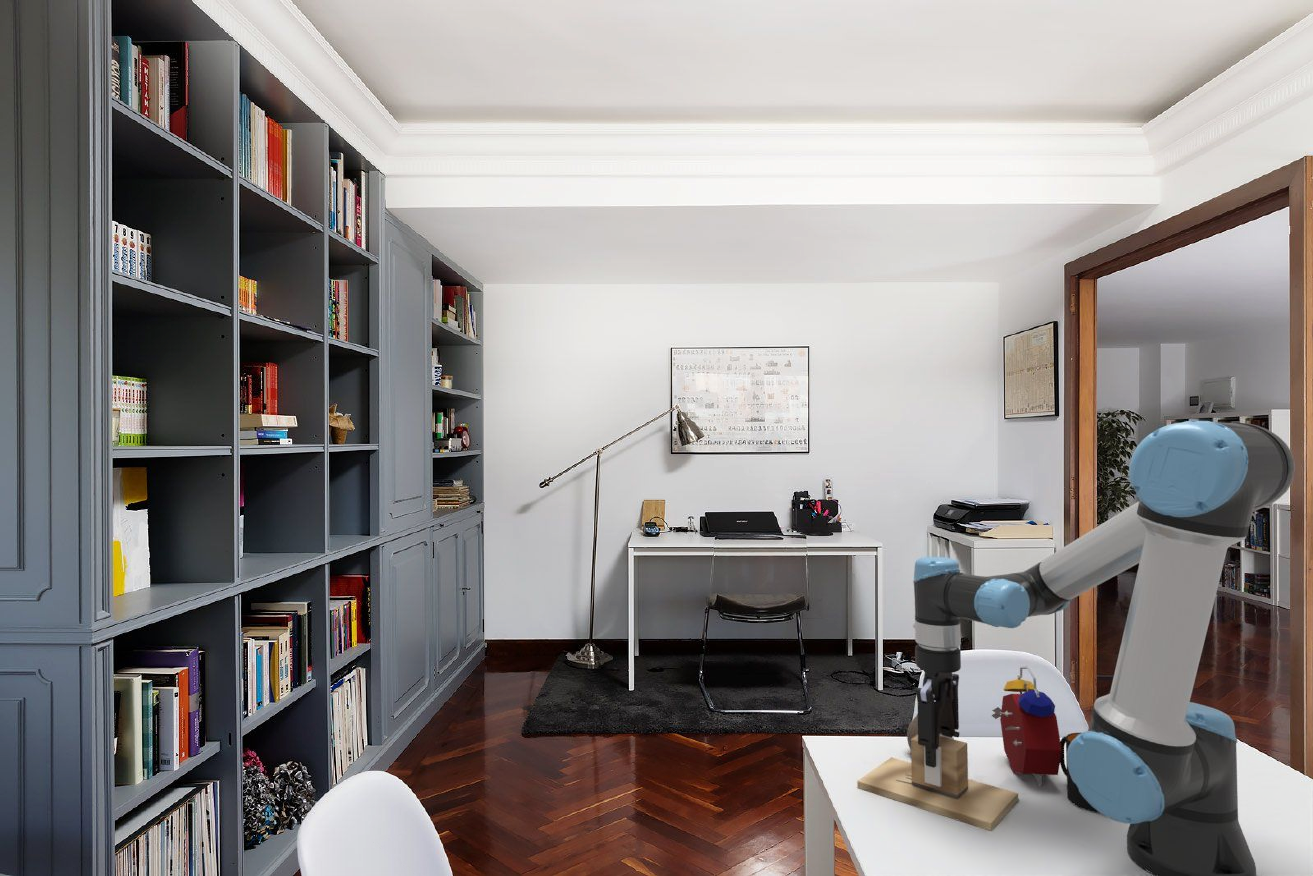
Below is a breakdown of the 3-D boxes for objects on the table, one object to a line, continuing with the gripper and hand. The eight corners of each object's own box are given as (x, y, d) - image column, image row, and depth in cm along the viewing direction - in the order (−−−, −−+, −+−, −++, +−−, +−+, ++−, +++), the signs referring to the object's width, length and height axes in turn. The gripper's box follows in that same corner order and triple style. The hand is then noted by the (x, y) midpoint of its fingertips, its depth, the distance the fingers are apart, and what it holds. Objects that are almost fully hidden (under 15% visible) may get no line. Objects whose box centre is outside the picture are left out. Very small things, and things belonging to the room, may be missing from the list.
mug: (1080, 780, 133) (1079, 723, 133) (1135, 811, 121) (1134, 748, 121) (1041, 784, 131) (1039, 727, 132) (1093, 816, 119) (1091, 752, 120)
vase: (908, 761, 142) (907, 715, 142) (906, 747, 149) (906, 704, 149) (945, 765, 140) (945, 719, 140) (942, 751, 147) (941, 707, 147)
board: (1018, 800, 125) (1018, 793, 125) (991, 831, 115) (991, 823, 115) (891, 763, 141) (891, 757, 141) (857, 787, 131) (857, 781, 131)
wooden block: (968, 789, 127) (967, 743, 127) (957, 799, 123) (956, 751, 123) (923, 775, 132) (922, 731, 132) (911, 785, 128) (911, 739, 129)
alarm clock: (1064, 793, 128) (1061, 678, 128) (1012, 790, 129) (1009, 677, 130) (1034, 759, 142) (1031, 656, 143) (987, 756, 144) (985, 655, 144)
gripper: (936, 633, 137) (938, 757, 137) (895, 652, 124) (897, 789, 124) (977, 639, 132) (979, 768, 132) (938, 660, 119) (941, 803, 118)
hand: (939, 778), depth 128 cm, fingers closed on wooden block, 5 cm apart
